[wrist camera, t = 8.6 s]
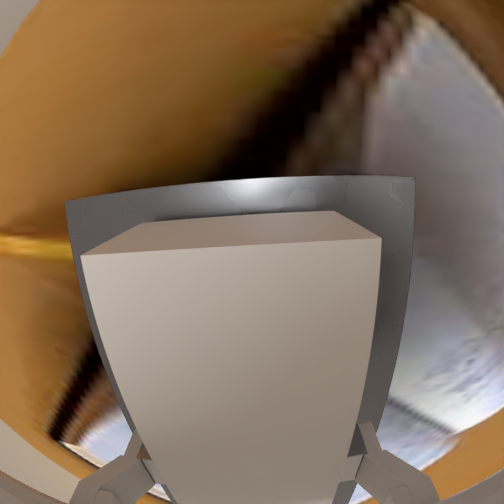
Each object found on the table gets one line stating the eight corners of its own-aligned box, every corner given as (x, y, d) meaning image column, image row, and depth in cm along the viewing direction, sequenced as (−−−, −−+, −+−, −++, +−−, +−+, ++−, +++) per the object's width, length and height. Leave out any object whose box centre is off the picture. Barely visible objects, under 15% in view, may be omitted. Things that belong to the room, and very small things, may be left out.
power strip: (173, 207, 12) (63, 265, 5) (311, 198, 12) (395, 246, 4) (218, 458, 16) (207, 554, 9) (303, 455, 16) (316, 552, 9)
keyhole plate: (113, 191, 13) (64, 201, 9) (370, 173, 13) (414, 177, 9) (188, 475, 19) (180, 515, 15) (336, 470, 18) (345, 510, 14)
